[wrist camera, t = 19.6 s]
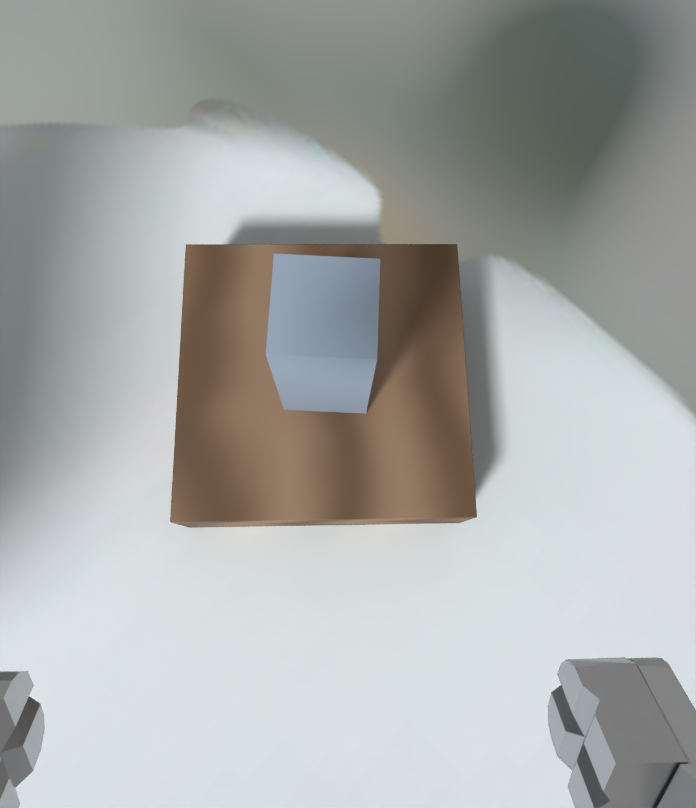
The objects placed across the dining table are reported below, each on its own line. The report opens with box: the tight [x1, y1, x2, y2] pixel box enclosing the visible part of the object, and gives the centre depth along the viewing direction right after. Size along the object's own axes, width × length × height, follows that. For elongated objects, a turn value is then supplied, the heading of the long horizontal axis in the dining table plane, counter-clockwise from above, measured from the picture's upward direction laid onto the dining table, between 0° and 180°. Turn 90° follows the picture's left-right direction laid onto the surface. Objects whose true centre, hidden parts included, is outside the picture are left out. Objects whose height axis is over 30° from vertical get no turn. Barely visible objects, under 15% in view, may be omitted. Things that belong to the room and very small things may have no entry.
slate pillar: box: [266, 254, 380, 414], centre depth 29 cm, size 4×4×9 cm
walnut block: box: [170, 244, 477, 527], centre depth 36 cm, size 16×16×5 cm
